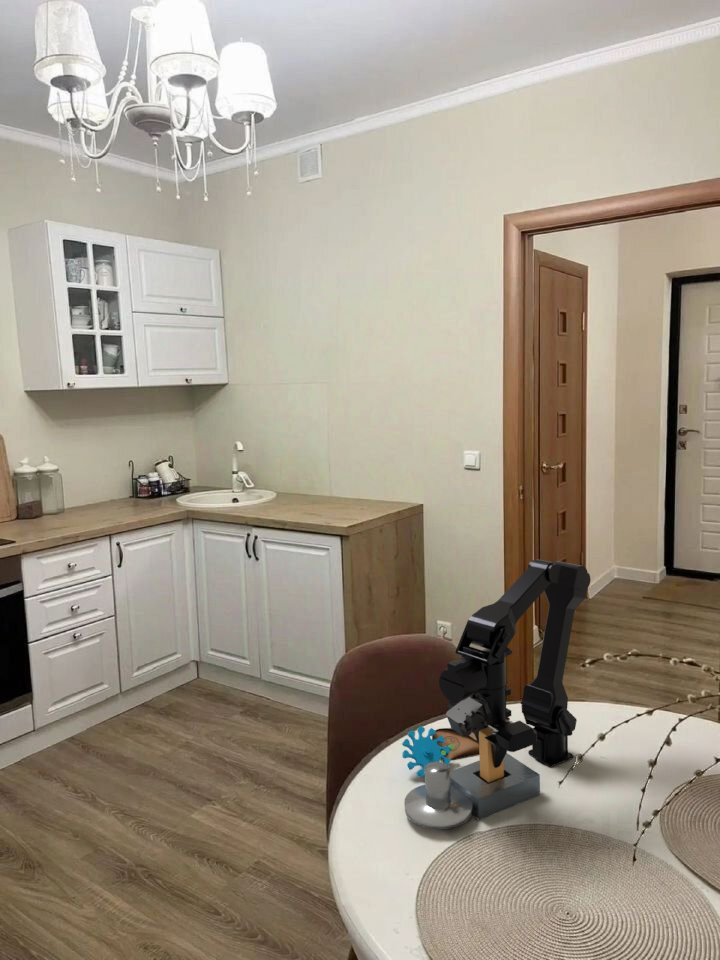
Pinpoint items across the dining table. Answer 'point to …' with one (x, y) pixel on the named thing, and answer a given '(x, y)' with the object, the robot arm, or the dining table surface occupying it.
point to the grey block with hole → (468, 793)
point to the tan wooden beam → (488, 758)
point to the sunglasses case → (458, 743)
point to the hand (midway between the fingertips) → (491, 763)
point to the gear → (425, 750)
